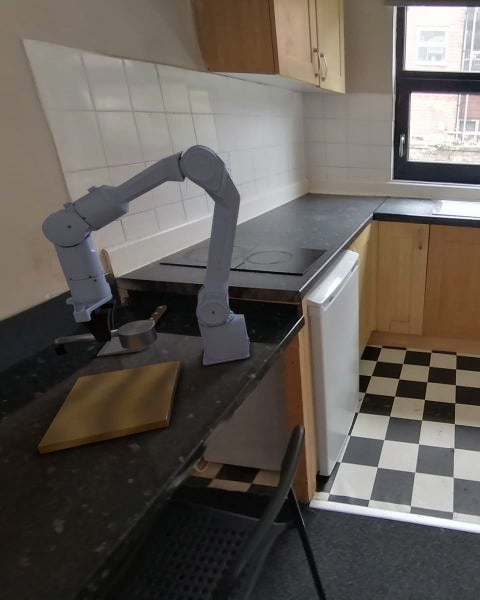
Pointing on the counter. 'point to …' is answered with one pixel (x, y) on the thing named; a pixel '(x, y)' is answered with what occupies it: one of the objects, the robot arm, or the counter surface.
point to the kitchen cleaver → (115, 344)
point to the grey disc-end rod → (128, 334)
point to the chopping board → (114, 406)
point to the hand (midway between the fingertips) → (106, 338)
